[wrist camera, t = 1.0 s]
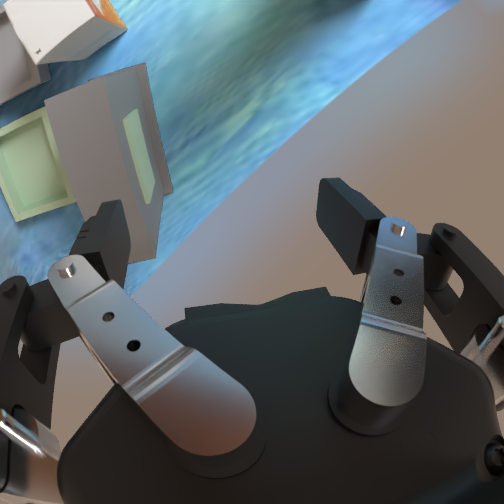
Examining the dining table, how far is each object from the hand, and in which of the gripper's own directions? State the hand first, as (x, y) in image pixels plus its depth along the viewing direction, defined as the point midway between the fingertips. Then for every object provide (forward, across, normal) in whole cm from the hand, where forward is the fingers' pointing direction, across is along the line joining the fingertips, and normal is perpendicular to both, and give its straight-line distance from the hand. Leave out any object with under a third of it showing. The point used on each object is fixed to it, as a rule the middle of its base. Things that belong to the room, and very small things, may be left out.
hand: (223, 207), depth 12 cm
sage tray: (+27, +22, +3) cm, 35 cm away
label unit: (+26, +8, +2) cm, 28 cm away
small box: (+26, +12, -13) cm, 32 cm away
